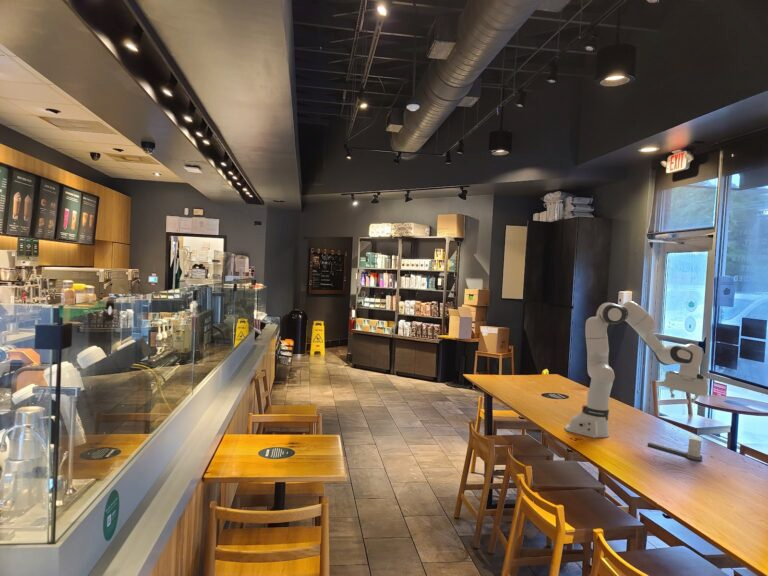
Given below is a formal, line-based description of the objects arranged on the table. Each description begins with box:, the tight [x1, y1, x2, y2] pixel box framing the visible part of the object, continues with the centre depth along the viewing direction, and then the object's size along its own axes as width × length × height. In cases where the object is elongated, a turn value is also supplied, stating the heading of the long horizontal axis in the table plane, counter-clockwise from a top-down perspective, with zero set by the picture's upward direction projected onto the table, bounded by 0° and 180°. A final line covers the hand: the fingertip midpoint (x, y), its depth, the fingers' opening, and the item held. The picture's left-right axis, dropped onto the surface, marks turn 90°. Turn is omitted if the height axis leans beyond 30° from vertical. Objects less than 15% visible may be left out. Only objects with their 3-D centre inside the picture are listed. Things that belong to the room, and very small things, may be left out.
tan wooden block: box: [687, 436, 702, 457], centre depth 255 cm, size 5×5×8 cm
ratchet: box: [647, 442, 703, 462], centre depth 262 cm, size 25×7×5 cm, turn 42°
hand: (682, 400), depth 273 cm, fingers open, 8 cm apart
